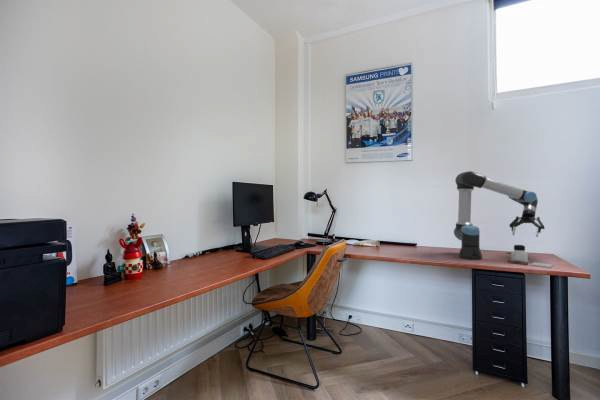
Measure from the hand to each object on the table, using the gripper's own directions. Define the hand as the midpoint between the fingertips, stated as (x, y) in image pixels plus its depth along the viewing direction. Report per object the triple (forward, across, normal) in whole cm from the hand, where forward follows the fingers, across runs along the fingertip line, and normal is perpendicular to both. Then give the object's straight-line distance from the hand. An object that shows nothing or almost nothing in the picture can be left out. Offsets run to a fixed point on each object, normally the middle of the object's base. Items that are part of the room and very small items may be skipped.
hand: (524, 235), depth 211 cm
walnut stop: (+25, +1, 0) cm, 25 cm away
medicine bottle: (+21, +1, -4) cm, 22 cm away
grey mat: (+21, -11, -4) cm, 24 cm away
